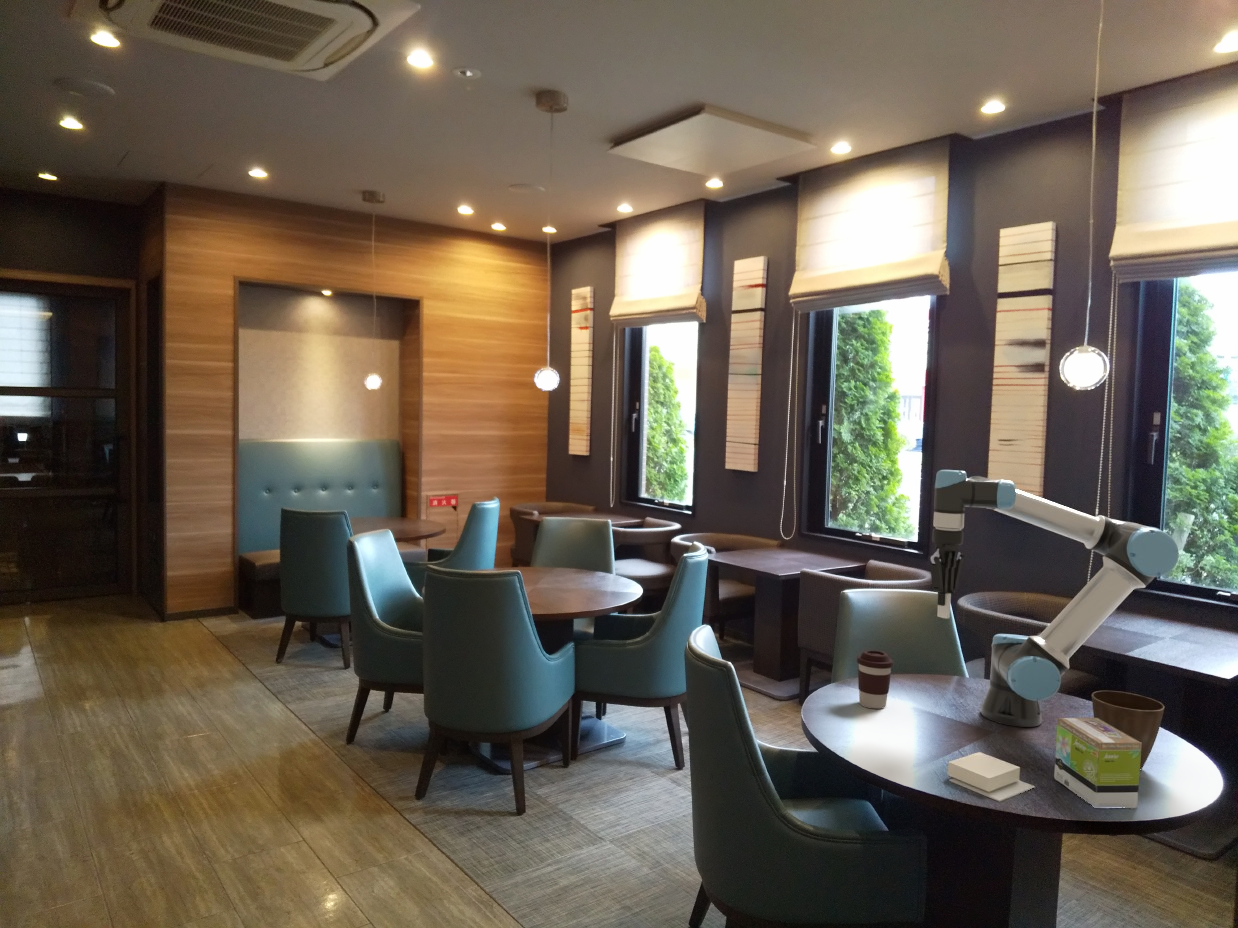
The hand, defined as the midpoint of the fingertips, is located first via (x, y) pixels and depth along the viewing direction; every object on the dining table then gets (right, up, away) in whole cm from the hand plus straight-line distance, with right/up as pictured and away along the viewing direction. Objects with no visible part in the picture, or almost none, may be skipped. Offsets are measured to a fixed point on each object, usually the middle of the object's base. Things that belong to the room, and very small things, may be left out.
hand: (943, 617), depth 223 cm
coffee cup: (-14, -28, +17) cm, 35 cm away
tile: (-7, -28, -29) cm, 41 cm away
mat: (-3, -31, -35) cm, 47 cm away
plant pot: (+35, -32, -21) cm, 52 cm away
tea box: (+19, -32, -38) cm, 53 cm away
